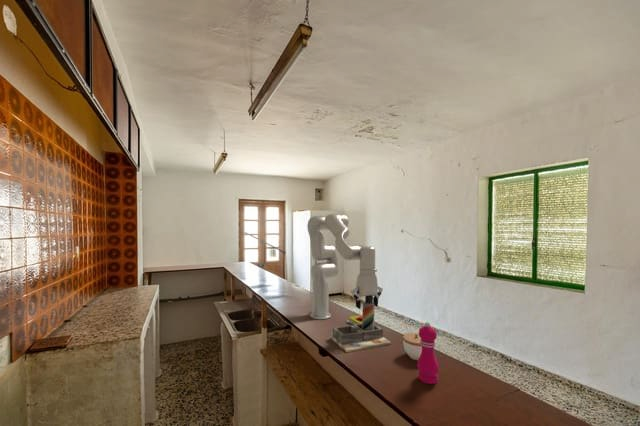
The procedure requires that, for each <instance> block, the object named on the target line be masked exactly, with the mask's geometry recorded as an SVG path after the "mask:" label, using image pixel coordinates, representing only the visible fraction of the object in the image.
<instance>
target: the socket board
mask: <svg viewBox="0 0 640 426" xmlns="http://www.w3.org/2000/svg"><path fill="white" fill-rule="evenodd" d="M383 331H384V330H383V328H381V327H380V326H378V325H376V324H375V323H374V330H369V331H364V330H362V324H356V325H352V324H350V325H349V324H348V325H343V326H337V327H332V335H331V336H330V339H331V340H332V341H333V342H334V343H336V345H338V346H339V347H340V348H341V349H342V350H343V351H345V353H347V354H348V353H353V352H357V351H361V350H366V349H367V350H368V349H374V348H377V347H383V346H388V345H391V344H392V342H391V340H389V339H387V338H386V337H384V332H383Z"/></svg>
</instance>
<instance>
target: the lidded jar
mask: <svg viewBox="0 0 640 426" xmlns="http://www.w3.org/2000/svg"><path fill="white" fill-rule="evenodd" d="M420 340H421V338H420V336H419V333H418V332H417V333H415V332H413V333H412V332H409V333H405V334H404V335H403V336H402V341H403V349H404V351H405V353H406V354H407V355H408V356H409V358H410V359H412V360H414V361H418V359H419V357H420V355H421V352H422V345H421V344H420V342H421V341H420Z"/></svg>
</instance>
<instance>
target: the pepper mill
mask: <svg viewBox="0 0 640 426" xmlns="http://www.w3.org/2000/svg"><path fill="white" fill-rule="evenodd" d="M418 334H419V336H420V338H421V340H420V341H421V342H420V344H421V345H422V352H421V355H420V357H419V359H418V360H417V364H416V365H417V366H416V367H417V369H418V371H419V372H418V379H419V380H420V381H421V382H422V383H424V384H427V385H435V384H437V383H438V381H439V380H438V377H439V376H438V374H439V371H440V366H439V362H438V360H437V358H436V355H435V347H436V340H437V335H438V334H437V331H436V330H435V328H433V327H432V326H431V323H430V322H429V321H428V322H427V321H426V322H425V323H424V325H423V326H421V327H420V328H419V330H418Z"/></svg>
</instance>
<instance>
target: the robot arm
mask: <svg viewBox="0 0 640 426" xmlns="http://www.w3.org/2000/svg"><path fill="white" fill-rule="evenodd" d="M348 226H349V218H348V217H347V215H346V214H343V213H330V214H328V215H313V216H311V217H310V218H309V219H308V222H307V233H308V235H309V238H310V248H311V257H312V259H313V260H314V261H324V262H317V263H315V264H313V265H312V266H311V269H310V271H311V272H310V274H311V279H312V312H311V313H309V317H310V318H311V319H315V320H327V319H329V318H331V317H332V313H331V312H329V291H330V290H329V289H330V287H329V283H328V282H327V280H326V279H331V278H335V277H337V276H338V275H339V270H340V269H339V260H338V254H339V256H340V257H341V258H342V259H344V260H345V261H357V260H358V261H359V274H357V279H356V285H355V288H353V289H352V290H351V291H350V293H351V294H352V297H353V298H354V299H355V306H356V308H357V309H359V310H360V309H361V307H362V304H361V303H362V301H361V299H362V297H365V296H370V295H373V303H374V304H375V308H377V307H378V306H379V299H380V296H381V295H382V293H383V288H382V287H380V286H378V277H377V274H376V272H378V268H376V249H375V247H374V246H366V245H363V244H352V245H351V244H350V245H349V244H348V243H347V242H346V241H345V240H346V239H347V237H349V234H350V230H349V228H348ZM323 230H324V231H325V230H326V231H327V230H328V231H330V233H331V234H332V236H334V238H335V241H334V242H335V246H334V245H332V244H325V237H324V234H323V233H322V232H321V231H323ZM325 261H326V262H325Z"/></svg>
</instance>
